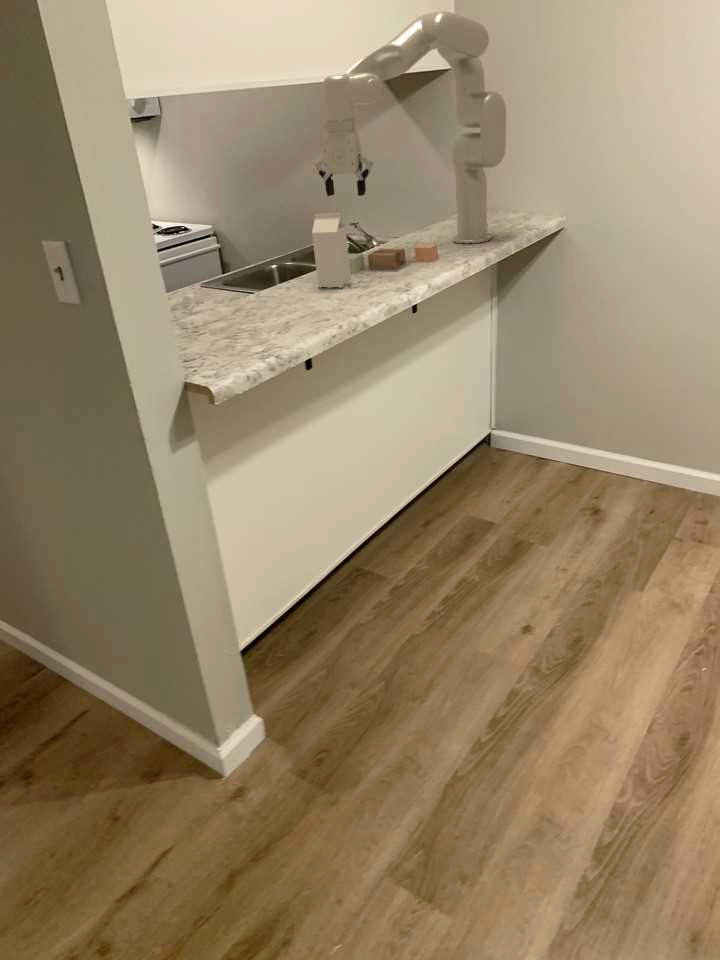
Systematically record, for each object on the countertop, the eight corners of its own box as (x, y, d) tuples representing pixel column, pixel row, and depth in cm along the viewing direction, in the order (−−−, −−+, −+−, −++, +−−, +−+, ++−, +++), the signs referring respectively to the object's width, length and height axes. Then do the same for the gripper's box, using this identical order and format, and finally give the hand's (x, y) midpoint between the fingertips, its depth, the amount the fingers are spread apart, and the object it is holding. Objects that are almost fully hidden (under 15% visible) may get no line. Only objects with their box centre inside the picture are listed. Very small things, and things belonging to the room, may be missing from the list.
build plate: (378, 262, 222) (378, 260, 221) (414, 263, 216) (414, 261, 216) (360, 273, 213) (359, 270, 212) (397, 274, 207) (397, 271, 207)
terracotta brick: (422, 260, 220) (421, 243, 217) (437, 261, 217) (437, 243, 215) (415, 264, 216) (414, 247, 213) (431, 265, 214) (430, 247, 211)
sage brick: (347, 270, 218) (345, 253, 215) (364, 271, 215) (363, 253, 213) (337, 275, 213) (335, 258, 211) (355, 276, 211) (353, 258, 208)
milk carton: (342, 288, 200) (335, 216, 190) (318, 288, 202) (309, 216, 193) (351, 281, 205) (344, 210, 196) (327, 281, 208) (319, 211, 198)
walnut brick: (381, 262, 219) (380, 248, 217) (405, 262, 215) (404, 248, 213) (369, 268, 213) (367, 254, 211) (393, 269, 209) (392, 255, 207)
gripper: (306, 130, 197) (312, 197, 206) (364, 127, 190) (368, 197, 198) (319, 128, 203) (325, 193, 211) (376, 125, 196) (379, 193, 204)
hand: (346, 195), depth 205 cm, fingers open, 9 cm apart
